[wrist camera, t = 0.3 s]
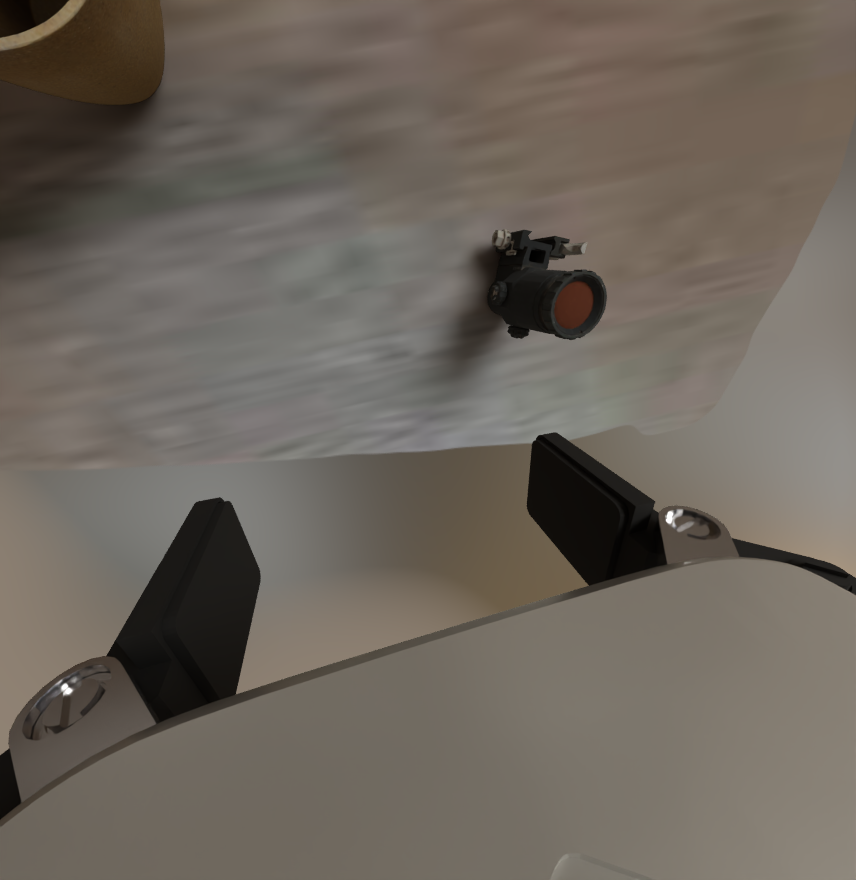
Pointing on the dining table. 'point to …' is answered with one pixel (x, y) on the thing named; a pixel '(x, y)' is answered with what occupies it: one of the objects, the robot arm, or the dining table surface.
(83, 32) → the plant pot
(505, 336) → the dining table surface
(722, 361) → the dining table surface
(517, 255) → the scope
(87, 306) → the dining table surface
